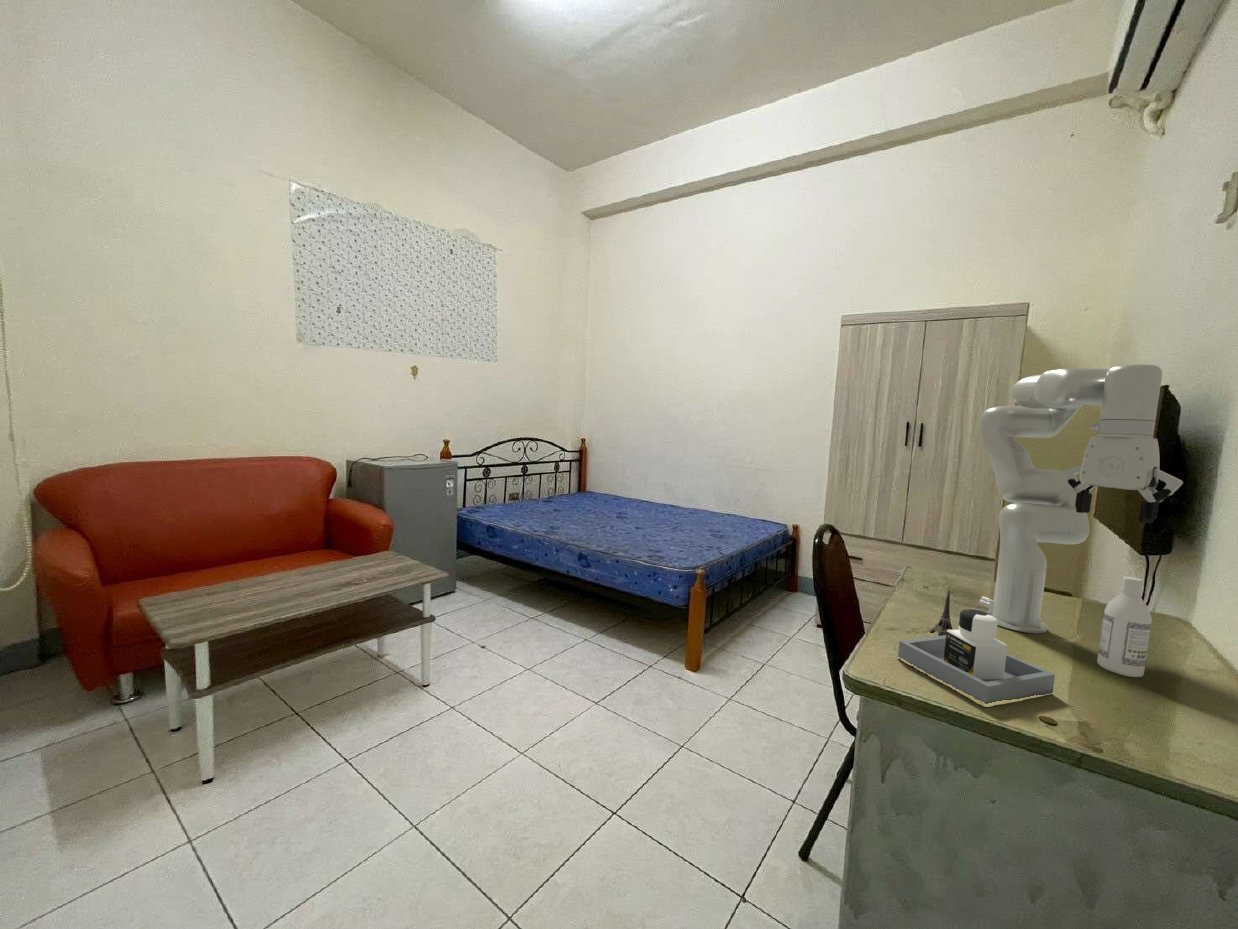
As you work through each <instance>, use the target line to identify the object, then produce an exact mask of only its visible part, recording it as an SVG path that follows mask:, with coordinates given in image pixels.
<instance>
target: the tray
mask: <svg viewBox="0 0 1238 929" xmlns="http://www.w3.org/2000/svg"><path fill="white" fill-rule="evenodd" d="M945 642H946V635H943V636H935V637H929V636H927V637H920V638H915V639H913V638H912V639H907V640H906V639H905V640H900V641H899V643H898V644H899V645H898V652H897V653H898V654H897V657H898V656H899V657H900V658H903V659H904V660H906V661H907V662H909V663H910V664H913V665H914V666H916V667H917V668H919V669H922V670H923V671H925V672H926V673H928V674H930V675H933V676H934V677H936V678H937V679H940V680H942V681H943V682H945V683H947V684H950V685H952V686H953V687H955V688H956V689H959V690H961V691H963V692H964V693H966V694H968V695H971V696H973V697H974V698H975V699H977V700H980V701H982V702H984V703H985V704H988V703H992V702H996V701H1002V700H1012V699H1020V698H1025V697H1030V696H1034V695H1036V696H1037V695H1045V694H1050V693H1053V692H1054V686H1055V678H1056V673H1054V672H1051V671H1048V670H1046V669H1044V668H1042V667H1040V666H1037V665H1035V664H1032V663H1030V662H1028V661H1026V660H1023V659H1022V658H1019V657H1016V656H1014V655H1012V654H1010V653H1007V654H1006V662H1005V670H1004V678H1003V679H1001V680H981V679H979V678H977V677H975V676H973V675H971V674H969V673H967V672H965V671H963V670H961V669H959V668H957V667H955V666H953V665H951V664H949V663H947V662H945V661H943V659H944V651H945Z"/></svg>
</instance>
